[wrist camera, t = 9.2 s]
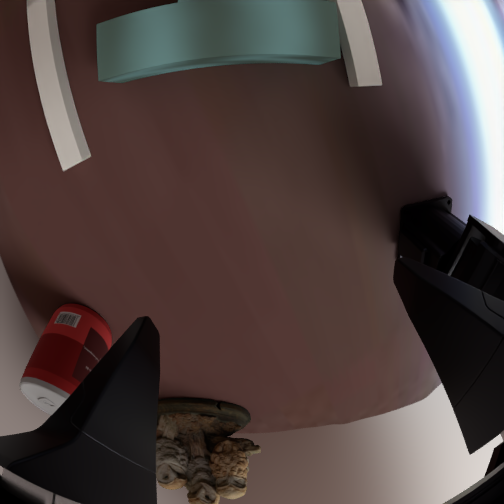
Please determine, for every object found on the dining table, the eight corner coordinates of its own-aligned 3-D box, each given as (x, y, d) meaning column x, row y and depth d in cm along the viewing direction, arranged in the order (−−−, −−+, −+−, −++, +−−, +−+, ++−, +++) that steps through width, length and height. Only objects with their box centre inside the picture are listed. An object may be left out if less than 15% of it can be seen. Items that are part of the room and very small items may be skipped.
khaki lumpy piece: (260, 397, 36) (275, 504, 22) (252, 425, 42) (262, 509, 28) (138, 392, 34) (126, 498, 20) (153, 422, 40) (148, 506, 26)
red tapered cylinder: (46, 317, 25) (11, 389, 16) (74, 289, 24) (31, 374, 14) (91, 354, 29) (69, 427, 20) (126, 334, 27) (104, 421, 18)
